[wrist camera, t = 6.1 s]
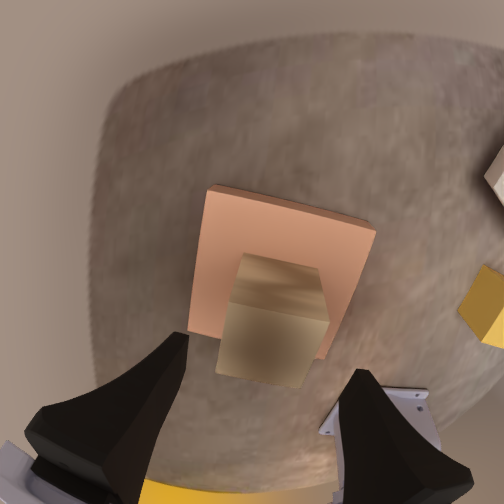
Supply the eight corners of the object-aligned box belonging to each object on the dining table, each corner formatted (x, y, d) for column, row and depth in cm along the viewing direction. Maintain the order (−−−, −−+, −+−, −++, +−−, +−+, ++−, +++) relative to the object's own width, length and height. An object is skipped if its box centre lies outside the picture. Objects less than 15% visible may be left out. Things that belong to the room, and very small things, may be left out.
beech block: (317, 268, 18) (330, 322, 13) (297, 327, 19) (300, 388, 14) (243, 252, 18) (228, 301, 13) (231, 314, 19) (215, 372, 14)
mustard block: (537, 304, 14) (513, 290, 14) (508, 349, 16) (481, 341, 16) (509, 279, 19) (482, 263, 18) (485, 320, 20) (456, 310, 20)
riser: (367, 221, 18) (376, 231, 16) (321, 342, 22) (324, 359, 20) (214, 184, 18) (207, 190, 16) (194, 315, 22) (187, 330, 20)
